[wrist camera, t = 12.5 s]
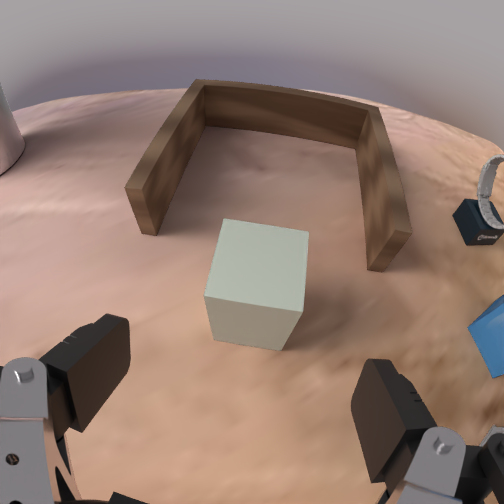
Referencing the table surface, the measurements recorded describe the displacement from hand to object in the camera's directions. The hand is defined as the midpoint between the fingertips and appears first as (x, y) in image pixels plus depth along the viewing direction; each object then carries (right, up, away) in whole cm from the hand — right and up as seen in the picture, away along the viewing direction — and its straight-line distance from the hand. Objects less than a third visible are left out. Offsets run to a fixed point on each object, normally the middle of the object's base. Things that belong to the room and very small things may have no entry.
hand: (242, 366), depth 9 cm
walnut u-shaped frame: (+3, +12, +22) cm, 25 cm away
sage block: (0, -1, +14) cm, 14 cm away
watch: (+27, +6, +20) cm, 34 cm away
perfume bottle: (+25, -5, +13) cm, 28 cm away
